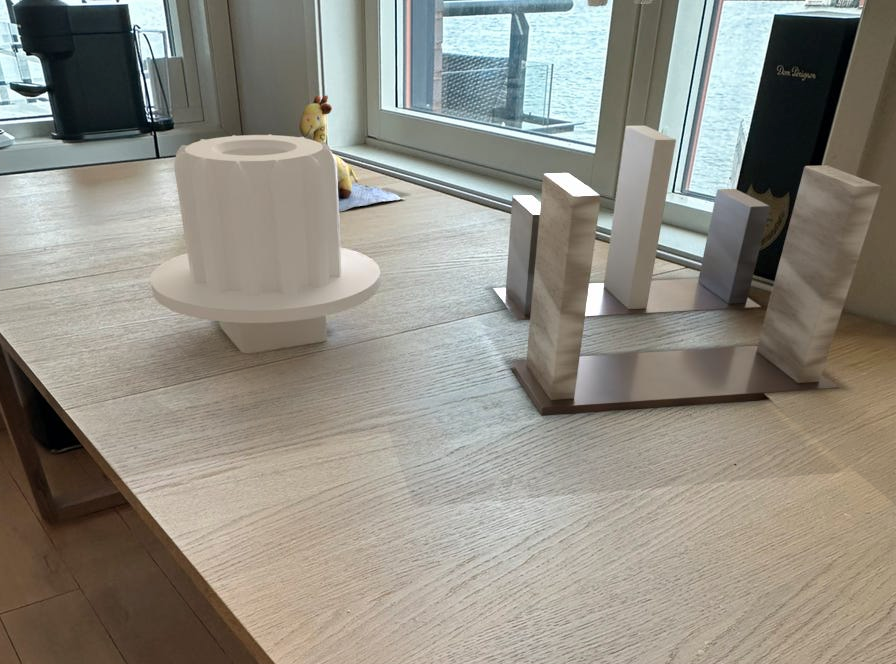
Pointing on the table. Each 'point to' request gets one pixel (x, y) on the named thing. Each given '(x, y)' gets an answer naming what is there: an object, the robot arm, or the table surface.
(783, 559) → the table surface
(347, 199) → the stuffed giraffe
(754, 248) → the grey stand
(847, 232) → the marble pillar rack
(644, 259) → the white rectangular block
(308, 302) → the flanged gear
